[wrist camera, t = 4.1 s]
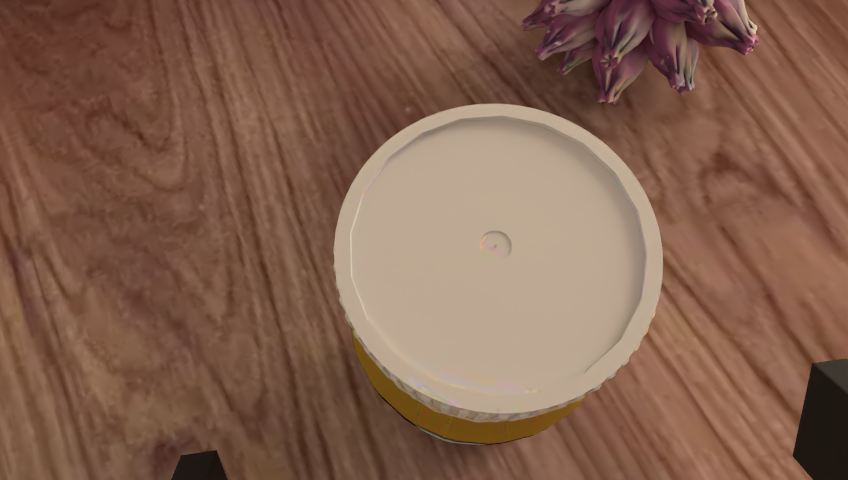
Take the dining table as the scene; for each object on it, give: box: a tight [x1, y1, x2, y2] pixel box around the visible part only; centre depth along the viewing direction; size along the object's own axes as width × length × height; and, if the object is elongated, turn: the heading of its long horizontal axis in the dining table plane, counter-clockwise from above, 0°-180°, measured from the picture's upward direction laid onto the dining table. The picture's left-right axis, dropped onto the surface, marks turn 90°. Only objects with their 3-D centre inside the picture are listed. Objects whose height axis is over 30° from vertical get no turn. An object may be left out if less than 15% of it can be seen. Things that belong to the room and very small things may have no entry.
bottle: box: [333, 104, 663, 445], centre depth 17 cm, size 7×7×15 cm
